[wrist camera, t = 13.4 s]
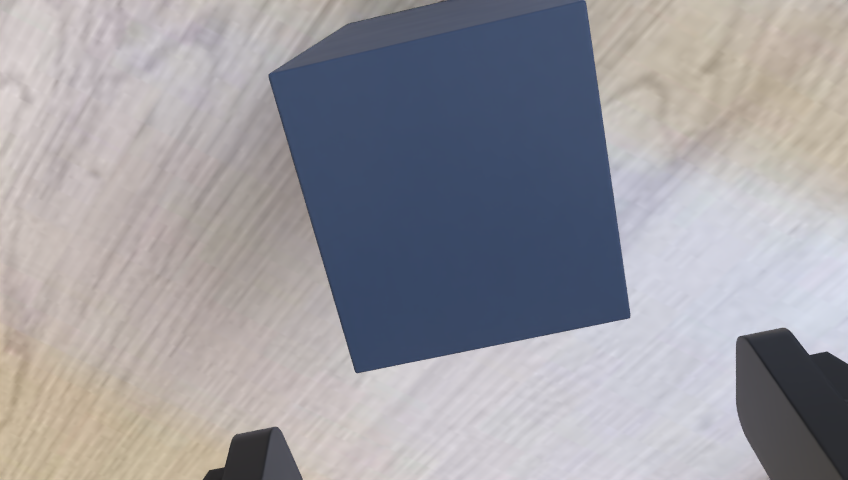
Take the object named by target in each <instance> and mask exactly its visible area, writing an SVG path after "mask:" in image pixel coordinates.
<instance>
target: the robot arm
mask: <svg viewBox="0 0 848 480" xmlns="http://www.w3.org/2000/svg"><path fill="white" fill-rule="evenodd" d="M736 405H737V412H738V416H739V420H740V423H741V426H742V429H743V431H744V434H745V436H746V438H747V440H748V442H749V443H750V445H751V447H752V449H753V450H754V452H755V454H756V455H757V457H758V459H759V461H760V462H761V464H762V466H763V467H764V469H765V471H766V473H767V474H768V476H769V478H770V480H848V364H847V363H845V362H844V361H842V360H840V359H839V358H837V357H835V356H834V355H832V354H830V353H829V352H823V353H818V354H813V355H809V354H808V353H807V352H806V350H805V349H804V348H803V347H802V345H801V344H800V343H799V341H798V340H797V339H796V338H795V336H794V335H793V334H792V333H791V332H790V331H789V330H788V329H786V328H779V329H774V330H769V331H764V332H759V333H754V334H749V335H744V336H740V337H738V339H737V342H736ZM203 480H303V478H302V476H301V474H300V472H299V469H298V467H297V465H296V463H295V460H294V458H293V456H292V454H291V451H290V449H289V447H288V445H287V442H286V440H285V438H284V436H283V434H282V432H281V430H280V429H279V428H278V427H271V428H266V429H261V430H256V431H251V432H246V433H241V434H236V435H235V436H234V437H233V439H232V441H231V444H230V448H229V452H228V456H227V460H226V464H225V467H224V468H219V469H214V470H209V472H208V473H207V474H206V476H205V477H204V479H203Z"/></svg>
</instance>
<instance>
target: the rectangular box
mask: <svg viewBox="0 0 848 480" xmlns="http://www.w3.org/2000/svg"><path fill="white" fill-rule="evenodd" d="M269 80H270V84H271V87H272V90H273V94H274V97H275V101H276V104H277V107H278V111H279V114H280V118H281V121H282V124H283V128H284V131H285V135H286V138H287V141H288V145H289V148H290V152H291V155H292V159H293V162H294V165H295V169H296V172H297V176H298V179H299V182H300V186H301V189H302V193H303V196H304V199H305V203H306V206H307V210H308V213H309V216H310V220H311V223H312V227H313V230H314V233H315V237H316V240H317V244H318V247H319V250H320V254H321V257H322V261H323V264H324V267H325V271H326V274H327V278H328V281H329V284H330V288H331V291H332V295H333V298H334V301H335V305H336V308H337V312H338V315H339V318H340V322H341V325H342V329H343V332H344V335H345V339H346V342H347V346H348V349H349V353H350V356H351V359H352V363H353V366H354V370H355V372H356V373H361V372H366V371H371V370H376V369H381V368H386V367H391V366H395V365H400V364H405V363H410V362H415V361H420V360H425V359H430V358H435V357H440V356H445V355H450V354H455V353H460V352H465V351H470V350H475V349H480V348H485V347H490V346H495V345H500V344H504V343H509V342H514V341H519V340H524V339H529V338H534V337H539V336H544V335H549V334H554V333H559V332H564V331H569V330H574V329H579V328H584V327H589V326H594V325H599V324H604V323H609V322H613V321H618V320H623V319H628V318H630V308H629V301H628V294H627V287H626V280H625V273H624V266H623V259H622V252H621V245H620V238H619V231H618V224H617V217H616V210H615V203H614V196H613V189H612V182H611V175H610V168H609V161H608V154H607V147H606V140H605V133H604V125H603V118H602V111H601V104H600V97H599V90H598V83H597V76H596V69H595V62H594V55H593V48H592V41H591V34H590V27H589V20H588V13H587V6H586V2H585V1H584V0H447V1H442V2H438V3H434V4H430V5H426V6H421V7H417V8H413V9H409V10H404V11H400V12H396V13H392V14H388V15H383V16H379V17H375V18H371V19H366V20H362V21H358V22H354V23H350V24H347V25H345V26H343V27H342V28H340V29H339V30H337V31H336V32H334V33H332V34H331V35H329V36H328V37H326V38H325V39H323V40H322V41H320V42H318V43H317V44H315V45H314V46H312V47H311V48H309V49H307V50H306V51H304V52H303V53H301V54H300V55H298V56H297V57H295V58H293V59H292V60H290V61H289V62H287V63H286V64H284V65H282V66H281V67H279V68H278V69H276V70H275V71H273V72H272V73H270V74H269Z"/></svg>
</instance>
